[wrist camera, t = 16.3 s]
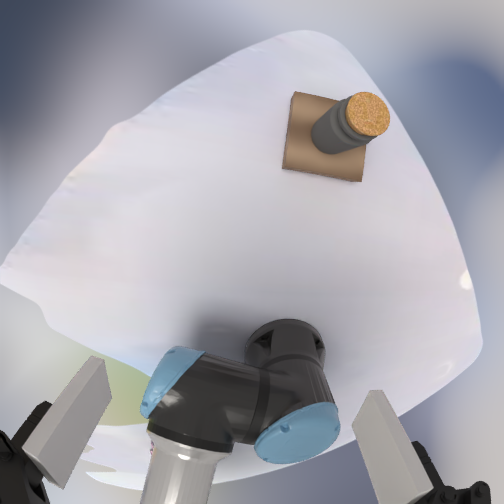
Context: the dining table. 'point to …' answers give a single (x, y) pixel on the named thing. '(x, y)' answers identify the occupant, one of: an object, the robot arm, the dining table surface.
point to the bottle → (350, 123)
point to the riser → (306, 153)
